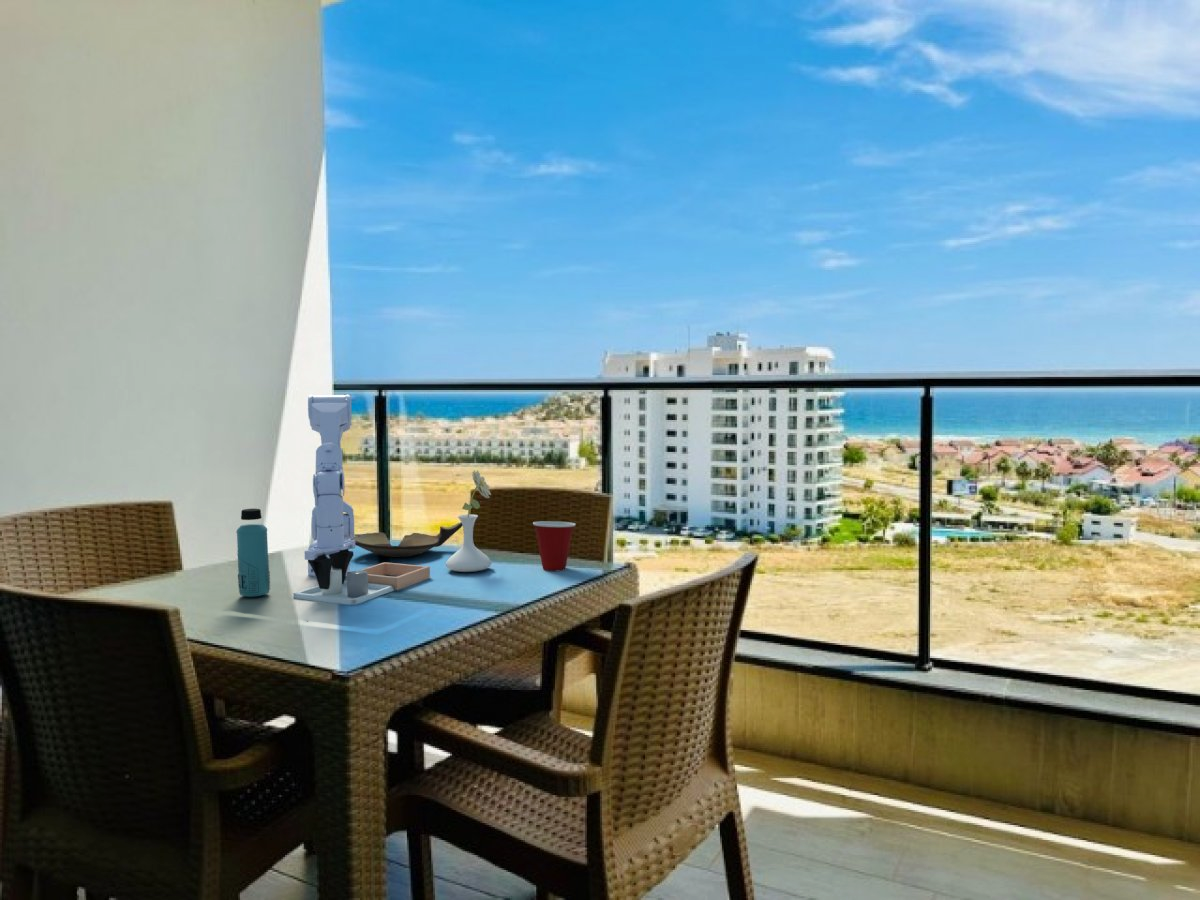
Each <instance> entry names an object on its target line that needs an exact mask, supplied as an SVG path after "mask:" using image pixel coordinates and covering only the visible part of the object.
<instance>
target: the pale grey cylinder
mask: <svg viewBox="0 0 1200 900" xmlns="http://www.w3.org/2000/svg"><path fill="white" fill-rule="evenodd" d="M321 593H322V594H324V595H335V594H340V593H342V569H339V568H331V572H330V586H329V589H321Z"/></svg>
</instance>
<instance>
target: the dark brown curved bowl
mask: <svg viewBox="0 0 1200 900" xmlns="http://www.w3.org/2000/svg"><path fill="white" fill-rule="evenodd" d="M461 528H463V526H462V523H461V521H460V522H457V523H456V524H454V525H451V526H443V525H441V526H440V527H439V533H438V534H436V535H430V534H427V533H426V534H425V533H420V532H412V533H411V534H404V536H403V537H402V540H401V541H400V542H399V544H398V545H392V544H391V543H390V541H389V539H388V537H387V534H386V533H385V532H367V533H366V532H365V533H362V534H358V535H356V536H354V537H353V538H352V539H350V540H355V547H359V548H361V549H364V551H365V550H366V551H368V552H370V553H374V554H376V555H380V556H383V557H390V558H409V557H413V556H417V555H419V554H423V553H425V552H427V551H429V550H432V549H433V548H437V547H442V545H444V544H445V542H447V540H449V539H450V538H451V537H452V536H453V535H454V534H455V533H457V532H458V531H459V530H460V529H461Z"/></svg>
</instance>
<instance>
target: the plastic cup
mask: <svg viewBox="0 0 1200 900" xmlns="http://www.w3.org/2000/svg"><path fill="white" fill-rule="evenodd" d="M532 524H533V527H534V529H535V534H536V539H537V545H538V551H539V552H538V553H539V556H540V561H541V566H542V569H544V571H546V570H548V572H557V571H556V570H561V571H564V570H565V569H566V568H567V561H568V557H569V552H570V548H571V547H570V546H571V539H572V536H573V531H574V528H575V527H576V525H577V524H576V522H575V523H574V522H571V521H570V522H569V521H555V520H554V521H553V520H552V521H551V520H550V521H549V520H547V521H546V520H545V521H533V522H532ZM563 569H564V570H563Z"/></svg>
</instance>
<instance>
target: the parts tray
mask: <svg viewBox="0 0 1200 900" xmlns="http://www.w3.org/2000/svg"><path fill="white" fill-rule="evenodd" d="M394 591H395V590H394V586H392V585H382V584H372V583H368V594H366V595H363V596H360V597H358V598H350V597H348V596H347V580H344V584H342V593H340V594H335V595H324V594H322V593H321V589H320V588H319V585H314V586H312V587H309V588H306V589H303V590H300V591H296V592H294V593H293V594H292V595H293V599H296V600H298V599H299V600H307V601H315V602H324V603H331V604H340V605H348V606H356V605H359V604H363V603H364V602H366V601H371V600H372V599H375V598H377V597H380V596H383V595H385V594H388V593H391V592H394Z"/></svg>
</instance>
